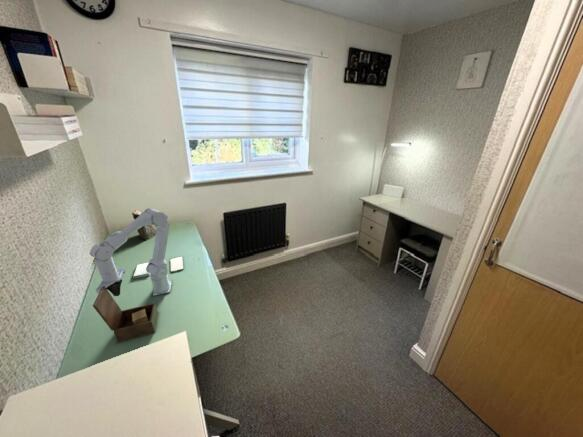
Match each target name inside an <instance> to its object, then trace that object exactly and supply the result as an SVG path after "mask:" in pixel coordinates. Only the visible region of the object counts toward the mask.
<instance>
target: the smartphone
mask: <svg viewBox="0 0 583 437" xmlns="http://www.w3.org/2000/svg"><path fill="white" fill-rule="evenodd" d="M169 261H170V262H169V263H170V264H169V265H170V273H174V272H179V271H183V270H184V261H183V256H176V257H172V258H170V259H169Z"/></svg>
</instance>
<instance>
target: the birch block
mask: <svg viewBox="0 0 583 437" xmlns="http://www.w3.org/2000/svg"><path fill="white" fill-rule="evenodd" d="M132 320H133V323H134V325H136V324H140V323H144V322H148V317H147V313H146V310H145V309H143V310H140V311H138V312H135V313H132Z"/></svg>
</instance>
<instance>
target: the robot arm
mask: <svg viewBox="0 0 583 437" xmlns="http://www.w3.org/2000/svg"><path fill="white" fill-rule="evenodd" d="M168 218H169V216H168V215H167V214H166V213H165V212H163V211H159V210H157V209H154V208H152V207H150V208H146V209H144V211H141V214H140V215H139V217H138V218H136V219H135V220H133V221H131V222H130V223H129V224H128V225H127V226H125V227H124V228H123V229H122V230H121V231H114V232H111V233H110V234H109V236H108V237H106V238H105V239H104V240H103V241H102V240H101V241H100V242H99V243H97V244H94V245H93V246H92V247H91V248H90V250H89V255H90V256H91V257H93V259H94V261H95V265H96V268H97V270H98V272H99V275H100V278H101V282H100V284H99V285H98V286H97V288H95V292H96V294H99V292H100V290H101V288H102V287H103V286H105V288H106V289H107V290H108V292H109V293H110V294H111V295H112V296H113V297H119V296H120V295H121V288H122V287H121V286H122V283H123V279H122V276H123V274H126V272H127V271H126V269H125V268H119V269H117V267H116V265H115V261H114V258H113V254H114V252H115V251H116V250H118V249H119V248H120V247H122V245H124V244H125V243H126V242H127V241H128V237H130V236H131V235H133V234H134V233H135V232H138V231H137V230H138V229H140V228H141V227H142V226H145V225H154V227H155V228H156V230H157V231H156V235H155V239H154V245H153V250H152V251H153V252H152V258H150V259H149V260H148V263H149V264H148V265H147V267H146V271H147V272H148V273H150V275H149V276H150V280H151V284H152V287H153V292H152V296H155V297H156V296H159V295H163V294H168V293H171V290H172V289H171V287H172V280H170V278H169V276H168V274H169V268H168V263H167V261H166V252H167V246H168V240H169V235H170V234H169V233H170V222H169V219H168Z"/></svg>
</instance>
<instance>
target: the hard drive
mask: <svg viewBox="0 0 583 437" xmlns="http://www.w3.org/2000/svg"><path fill="white" fill-rule="evenodd" d="M148 264H149V262H145V263H139V264H137V265H136V268H135V271H134V273H133V275H132V278H133V279H138V278H143V277H150V276H151V275H150V273H148V272H147V271H146V267H147V265H148Z"/></svg>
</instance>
